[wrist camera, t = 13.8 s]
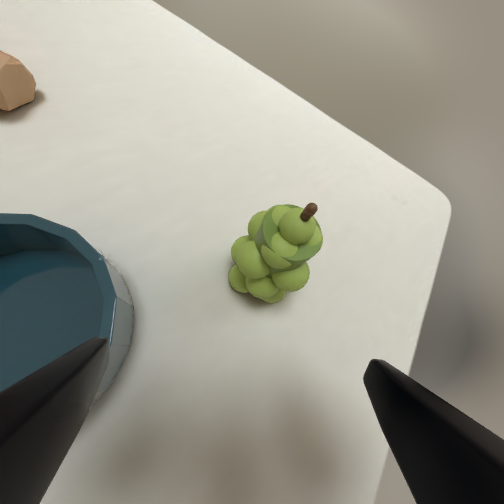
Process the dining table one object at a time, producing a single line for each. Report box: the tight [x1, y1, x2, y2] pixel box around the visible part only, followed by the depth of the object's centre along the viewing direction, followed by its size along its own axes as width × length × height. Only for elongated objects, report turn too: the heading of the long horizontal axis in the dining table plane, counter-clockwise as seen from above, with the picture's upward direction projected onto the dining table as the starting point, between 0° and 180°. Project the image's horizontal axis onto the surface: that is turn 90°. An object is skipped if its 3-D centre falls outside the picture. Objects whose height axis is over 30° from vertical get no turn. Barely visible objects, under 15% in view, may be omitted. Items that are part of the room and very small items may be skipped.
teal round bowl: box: [0, 213, 134, 406], centre depth 16 cm, size 15×15×5 cm
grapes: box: [229, 203, 323, 303], centre depth 18 cm, size 7×7×12 cm
